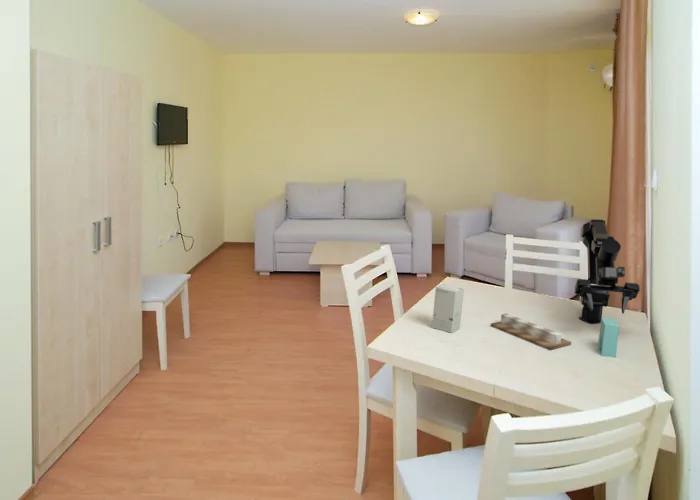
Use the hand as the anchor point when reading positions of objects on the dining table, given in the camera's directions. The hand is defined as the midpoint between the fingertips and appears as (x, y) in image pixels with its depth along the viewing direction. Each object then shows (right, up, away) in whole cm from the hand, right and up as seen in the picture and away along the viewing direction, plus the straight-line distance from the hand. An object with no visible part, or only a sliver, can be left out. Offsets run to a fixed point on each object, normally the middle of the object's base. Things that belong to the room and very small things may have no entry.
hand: (607, 311), depth 188 cm
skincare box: (-48, -8, +17) cm, 52 cm away
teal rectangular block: (-1, -12, -3) cm, 13 cm away
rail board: (-21, -9, +11) cm, 26 cm away
